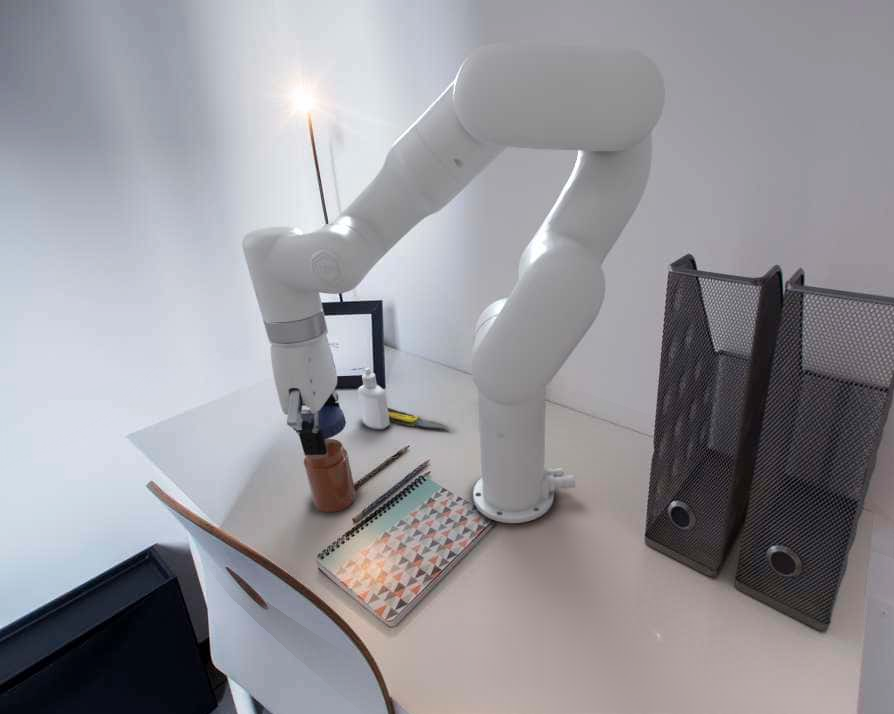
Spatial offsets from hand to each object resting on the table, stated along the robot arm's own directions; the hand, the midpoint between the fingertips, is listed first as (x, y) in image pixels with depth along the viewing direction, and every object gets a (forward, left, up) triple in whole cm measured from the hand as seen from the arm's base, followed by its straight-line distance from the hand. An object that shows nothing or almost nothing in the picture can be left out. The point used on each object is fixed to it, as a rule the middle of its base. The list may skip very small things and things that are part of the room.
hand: (324, 438), depth 78 cm
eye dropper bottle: (-4, -22, -12) cm, 25 cm away
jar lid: (0, 0, +3) cm, 3 cm away
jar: (+1, 0, -11) cm, 11 cm away
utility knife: (-12, -21, -12) cm, 27 cm away
